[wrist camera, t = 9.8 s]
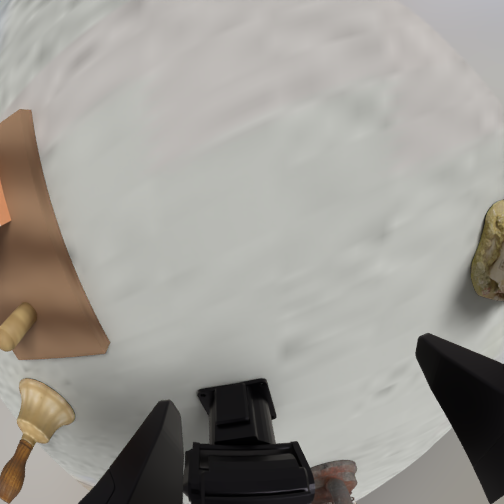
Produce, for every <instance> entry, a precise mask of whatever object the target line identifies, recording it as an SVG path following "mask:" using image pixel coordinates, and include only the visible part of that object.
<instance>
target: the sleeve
mask: <svg viewBox="0 0 504 504" xmlns="http://www.w3.org/2000/svg"><path fill="white" fill-rule="evenodd" d="M9 221H11V218H10V214H9V211H8V208H7V204H6V201H5V197H4V193H3V189H2V185H1V181H0V226H2V225H4V224H6V223H7V222H9Z"/></svg>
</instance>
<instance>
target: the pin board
mask: <svg viewBox="0 0 504 504" xmlns="http://www.w3.org/2000/svg"><path fill="white" fill-rule="evenodd" d="M0 181H1V185H2V189H3V193H4V197H5V201H6V204H7V208H8V211H9V214H10V218H11V221H9V222H7V223H6V224H4V225H2V226H0V349H1V350H3V351H11V350H13V352H14V354H15V355H16V357H17V358H18V360H31V359H49V358H64V357H76V356H87V355H96V354H105V353H106V351H107V348H108V346H109V344H110V341H109V340H108V338H107V336H106V334H105V332H104V330H103V328H102V326H101V325H100V323H99V321H98V319H97V317H96V315H95V313H94V311H93V309H92V307H91V305H90V302H89V300H88V298H87V296H86V294H85V292H84V290H83V287H82V285H81V283H80V280H79V278H78V276H77V273H76V271H75V269H74V266H73V264H72V261H71V259H70V256H69V254H68V251H67V248H66V246H65V243H64V240H63V238H62V235H61V232H60V229H59V226H58V223H57V220H56V217H55V214H54V211H53V207H52V204H51V201H50V197H49V194H48V190H47V186H46V183H45V179H44V175H43V171H42V166H41V162H40V157H39V153H38V148H37V143H36V137H35V132H34V126H33V119H32V112H31V110H24V109H20V110H18V111H17V112H15V113H14V114H12V115H11V116H9V117H8V118H7V119H5V120H4V121H2V122H1V123H0Z"/></svg>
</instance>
